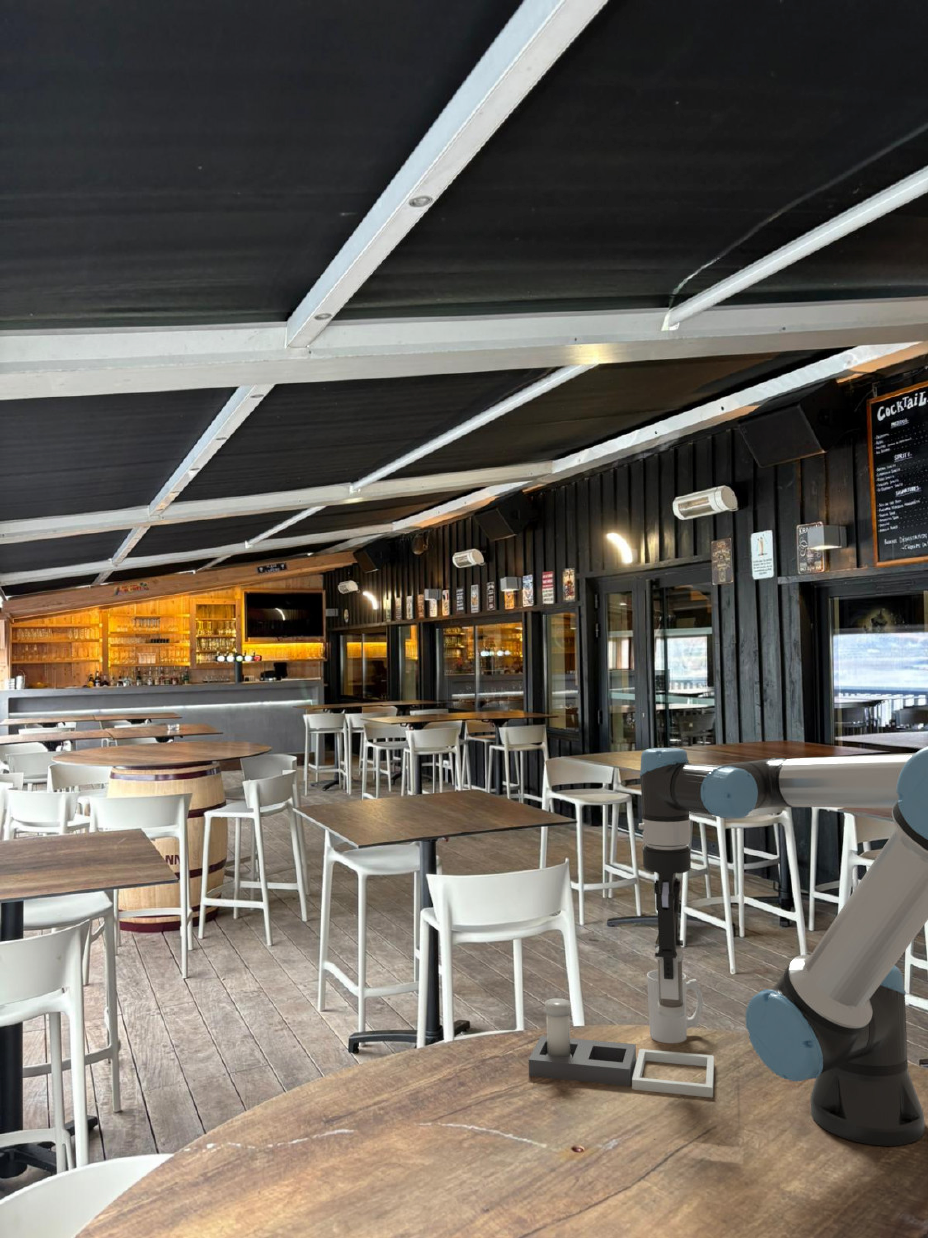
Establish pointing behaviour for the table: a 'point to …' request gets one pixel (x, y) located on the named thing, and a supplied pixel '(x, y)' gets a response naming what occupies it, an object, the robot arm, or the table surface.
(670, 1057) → the tray
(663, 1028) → the mug
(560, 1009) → the peg
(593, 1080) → the block
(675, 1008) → the fuse
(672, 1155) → the table surface
